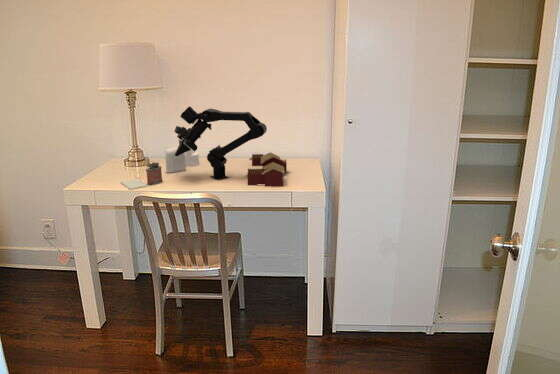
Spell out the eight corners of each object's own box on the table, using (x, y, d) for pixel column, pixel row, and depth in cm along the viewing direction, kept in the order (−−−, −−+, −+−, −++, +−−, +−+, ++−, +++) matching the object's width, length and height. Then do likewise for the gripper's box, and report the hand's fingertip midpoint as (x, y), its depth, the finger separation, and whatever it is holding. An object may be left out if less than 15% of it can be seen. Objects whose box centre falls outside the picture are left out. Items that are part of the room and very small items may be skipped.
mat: (148, 186, 218) (148, 185, 218) (130, 189, 213) (129, 188, 213) (137, 179, 229) (137, 178, 229) (120, 182, 224) (119, 181, 224)
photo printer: (184, 168, 248) (182, 145, 244) (187, 170, 244) (185, 147, 241) (165, 171, 242) (163, 148, 239) (168, 173, 239) (166, 149, 235)
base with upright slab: (184, 162, 261) (183, 141, 257) (200, 162, 260) (199, 141, 257) (180, 166, 252) (179, 144, 249) (197, 166, 252) (195, 144, 248)
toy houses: (288, 186, 217) (288, 165, 214) (244, 187, 217) (243, 166, 213) (284, 162, 260) (284, 144, 257) (246, 163, 259) (246, 145, 256)
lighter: (159, 180, 227) (158, 160, 224) (164, 181, 225) (162, 161, 222) (145, 184, 221) (143, 163, 218) (150, 185, 219) (148, 165, 216)
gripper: (179, 116, 230) (158, 141, 229) (188, 122, 213) (166, 149, 212) (196, 131, 235) (176, 155, 234) (206, 138, 219) (184, 164, 218)
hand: (175, 155), depth 224 cm, fingers closed
